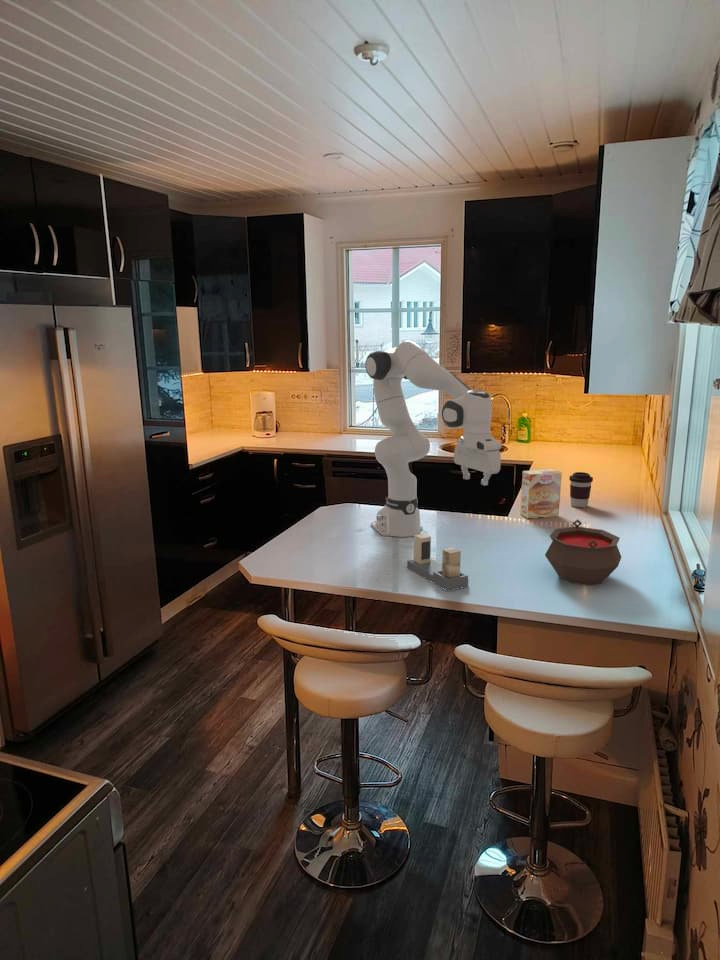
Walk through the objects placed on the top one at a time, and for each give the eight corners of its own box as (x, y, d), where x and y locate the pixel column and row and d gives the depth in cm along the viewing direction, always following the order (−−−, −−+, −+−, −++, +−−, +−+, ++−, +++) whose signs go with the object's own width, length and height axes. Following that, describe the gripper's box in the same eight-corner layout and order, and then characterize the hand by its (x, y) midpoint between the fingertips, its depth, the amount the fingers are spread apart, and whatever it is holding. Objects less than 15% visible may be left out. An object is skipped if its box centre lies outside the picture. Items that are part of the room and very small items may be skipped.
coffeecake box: (527, 519, 268) (530, 474, 264) (519, 514, 275) (521, 470, 270) (559, 516, 272) (562, 472, 267) (550, 512, 278) (553, 468, 274)
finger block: (441, 576, 202) (442, 549, 199) (451, 573, 203) (452, 547, 201) (449, 580, 198) (450, 553, 196) (459, 578, 200) (460, 551, 198)
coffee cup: (564, 506, 286) (566, 474, 283) (571, 501, 294) (573, 470, 290) (587, 510, 281) (589, 477, 277) (593, 505, 288) (595, 472, 285)
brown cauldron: (537, 562, 220) (540, 517, 216) (609, 564, 217) (613, 518, 213) (550, 590, 197) (553, 540, 193) (630, 593, 194) (636, 542, 190)
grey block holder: (407, 567, 216) (407, 535, 213) (426, 563, 219) (427, 531, 217) (447, 591, 196) (448, 556, 193) (468, 586, 200) (469, 551, 197)
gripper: (450, 437, 215) (448, 476, 219) (489, 446, 198) (487, 489, 201) (465, 435, 218) (463, 474, 222) (504, 444, 201) (502, 487, 204)
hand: (475, 481), depth 211 cm, fingers open, 8 cm apart
